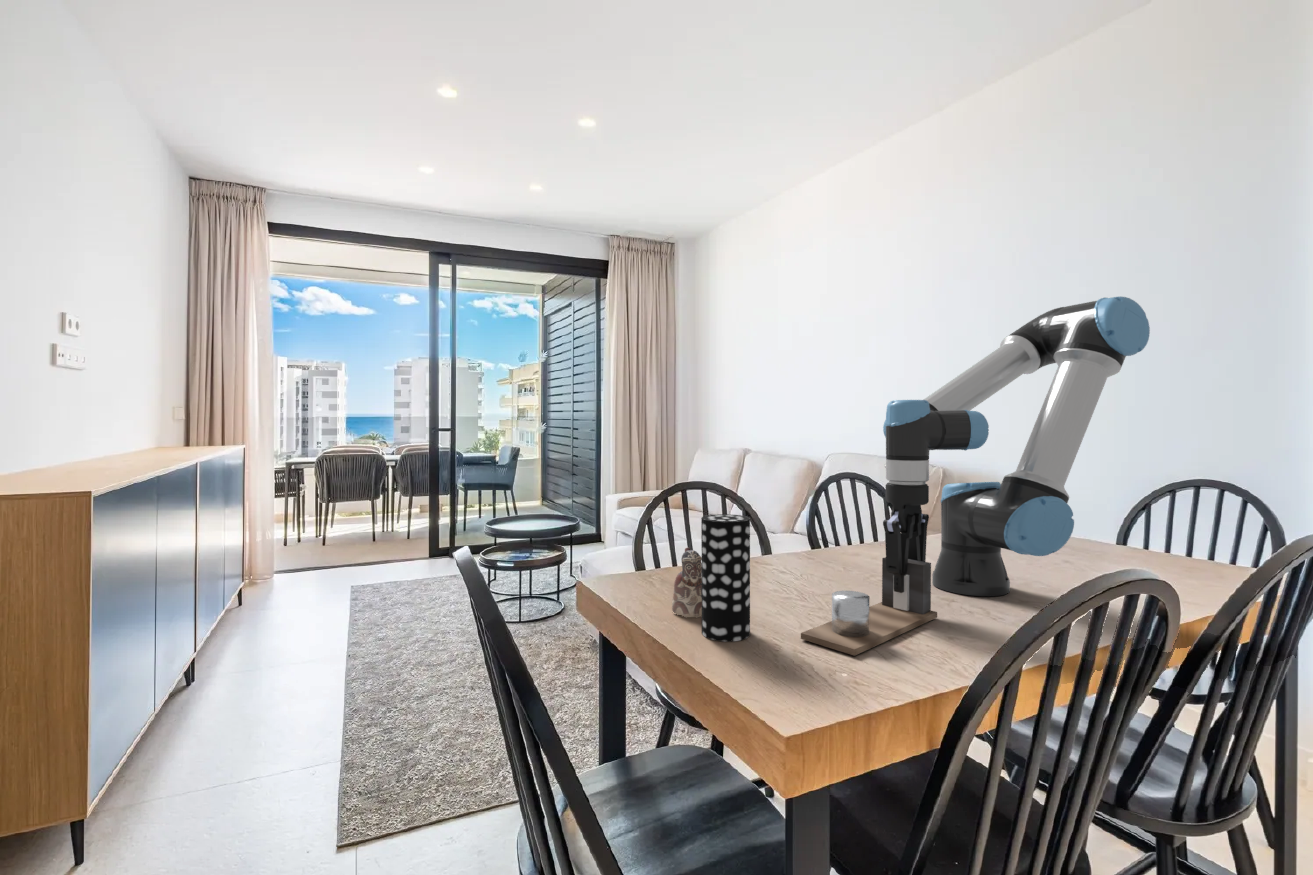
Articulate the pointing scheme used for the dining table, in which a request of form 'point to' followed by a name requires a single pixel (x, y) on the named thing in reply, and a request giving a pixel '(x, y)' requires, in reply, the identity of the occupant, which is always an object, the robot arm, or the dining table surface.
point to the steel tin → (850, 613)
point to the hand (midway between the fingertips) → (906, 606)
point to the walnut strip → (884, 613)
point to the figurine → (688, 586)
